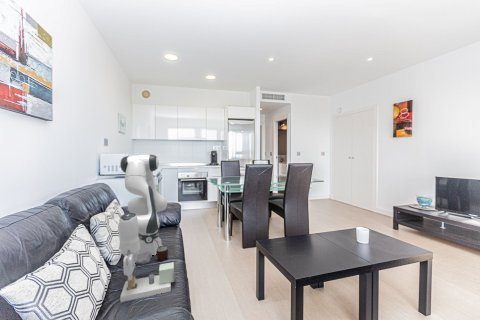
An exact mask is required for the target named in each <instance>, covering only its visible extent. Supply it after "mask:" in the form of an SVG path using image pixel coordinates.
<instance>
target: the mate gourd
mask: <svg viewBox="0 0 480 320" xmlns="http://www.w3.org/2000/svg"><path fill="white" fill-rule="evenodd" d="M153 240H155V239H153ZM155 241H156V242H157V244H158V241H157V240H155ZM156 253H157V255H156V257H157V261H160V263H161V262H163V261H162V260H163V259H166V260H168V255H169V250H168V247H167V246H166V245H163V246H159V244H158V248H157V251H156Z"/></svg>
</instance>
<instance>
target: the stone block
mask: <svg viewBox="0 0 480 320" xmlns="http://www.w3.org/2000/svg"><path fill="white" fill-rule="evenodd" d="M152 257H153V256H152V254H151V253H150V252H145V253H142V254H138V256H137V260H136V264H135V265H144V264H148V263H149V262H151V259H152ZM150 258H151V259H150Z"/></svg>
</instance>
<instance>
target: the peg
mask: <svg viewBox="0 0 480 320" xmlns="http://www.w3.org/2000/svg"><path fill="white" fill-rule="evenodd" d="M135 279H136V275H133V278H132V280H130V281H129V280H128V279H127V281H128V290H131V289H136V281H135Z"/></svg>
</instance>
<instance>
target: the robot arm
mask: <svg viewBox="0 0 480 320" xmlns="http://www.w3.org/2000/svg"><path fill="white" fill-rule="evenodd" d="M119 164H120V165H119V166H120V169H121V171H122V172H123V173H125V174H124V175H125V176H124V187H125V189H126V190H127V192H128V193H130V194H133V195H135V196H139V197H136V198H135V197H134V198H131V199H130V200H129V201H128V203H127V210H128V211H129V212H127V213H124V214H122V215H121V216H120V217H119V220H118V221H119V222H118V223H119V224H118V235H119V237H120V239H119V252H120V254H121V255H123V256H124V257H123V259H122V260H123V261H122V262H123V263H122V264H123V275H124V276H127V281H128V280H129V281H130V280H132V278H133V276H134V275H133V272H134V271H135V270H136V264H135V263H136V260H137V256H138V254H142V253H145V252H150V253H151V254H152V255H154V256H157V255H156V254H157V253H156V251H157V248H158V244H159V246H164V245H163V243H162V239H161V238H160V234H159V229H160V219H159V216H158V212H160V213H161V212H163V211H165V210H166V209H167V207H168V200H167V199H166V197H165V196H163V195H162V194H161V193H159V192H158V190H157V189H156V185H155V180H154V171H156V170H158V168H159V164H160V161H159V159H158V156H156V155H155V154H138V155H137V154H136V155H126V156H123V157H122V158H121V160H120V163H119ZM153 239H155V240H157V241H158V244H157V242H156V241H155V240H153Z"/></svg>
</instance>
